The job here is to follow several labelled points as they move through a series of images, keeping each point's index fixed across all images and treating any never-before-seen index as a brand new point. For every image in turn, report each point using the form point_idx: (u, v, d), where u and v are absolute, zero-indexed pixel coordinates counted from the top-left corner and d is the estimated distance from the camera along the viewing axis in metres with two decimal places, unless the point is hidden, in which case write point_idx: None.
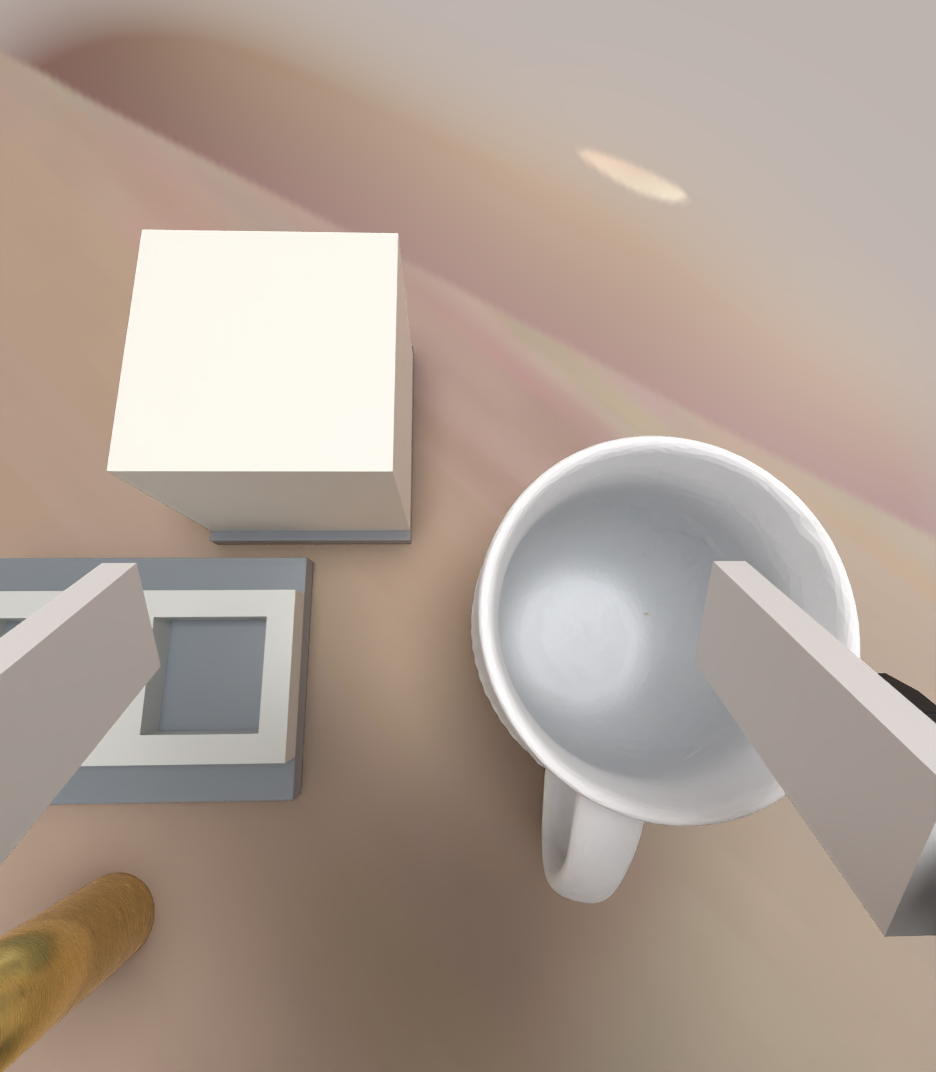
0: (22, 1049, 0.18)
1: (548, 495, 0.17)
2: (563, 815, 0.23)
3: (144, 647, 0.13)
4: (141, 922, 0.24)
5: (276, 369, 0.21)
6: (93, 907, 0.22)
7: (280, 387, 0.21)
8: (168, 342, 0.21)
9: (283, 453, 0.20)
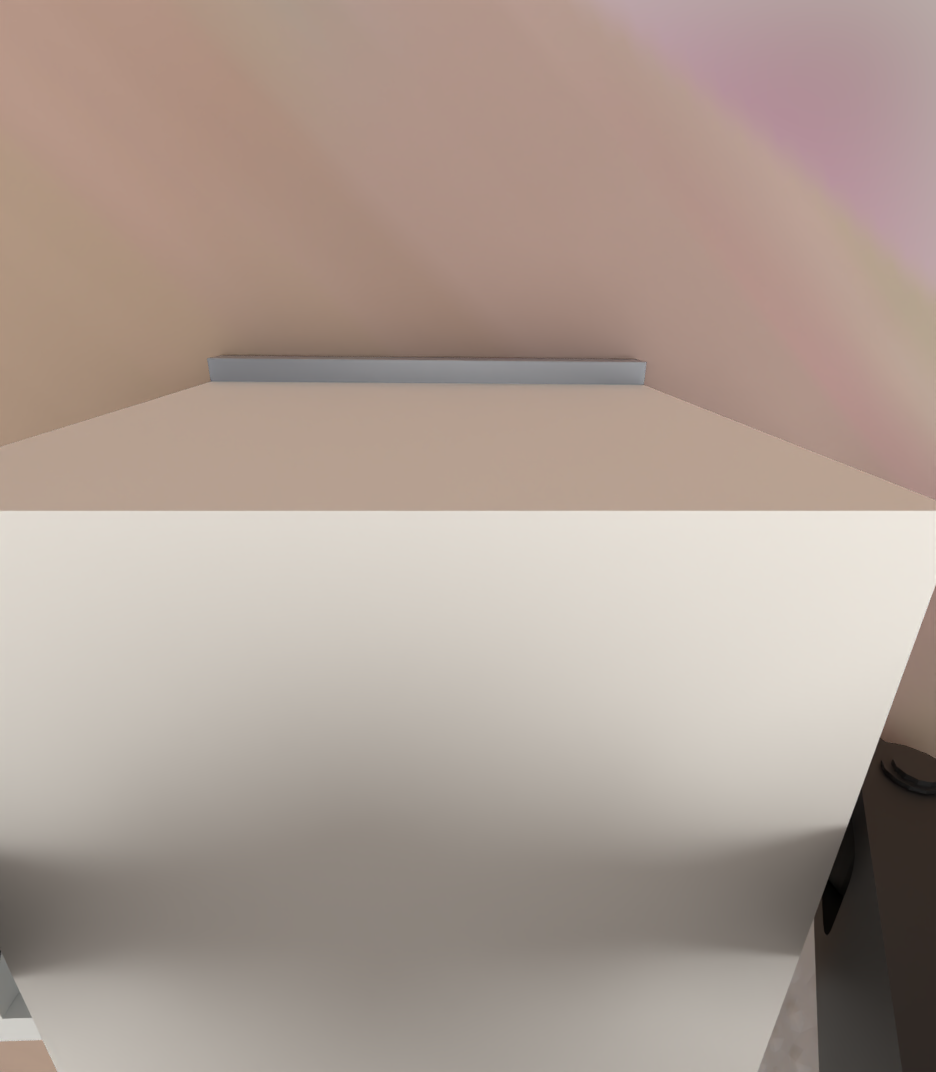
0: None
1: None
2: None
3: None
4: None
5: (465, 958, 0.07)
6: None
7: (480, 992, 0.07)
8: (119, 906, 0.07)
9: None
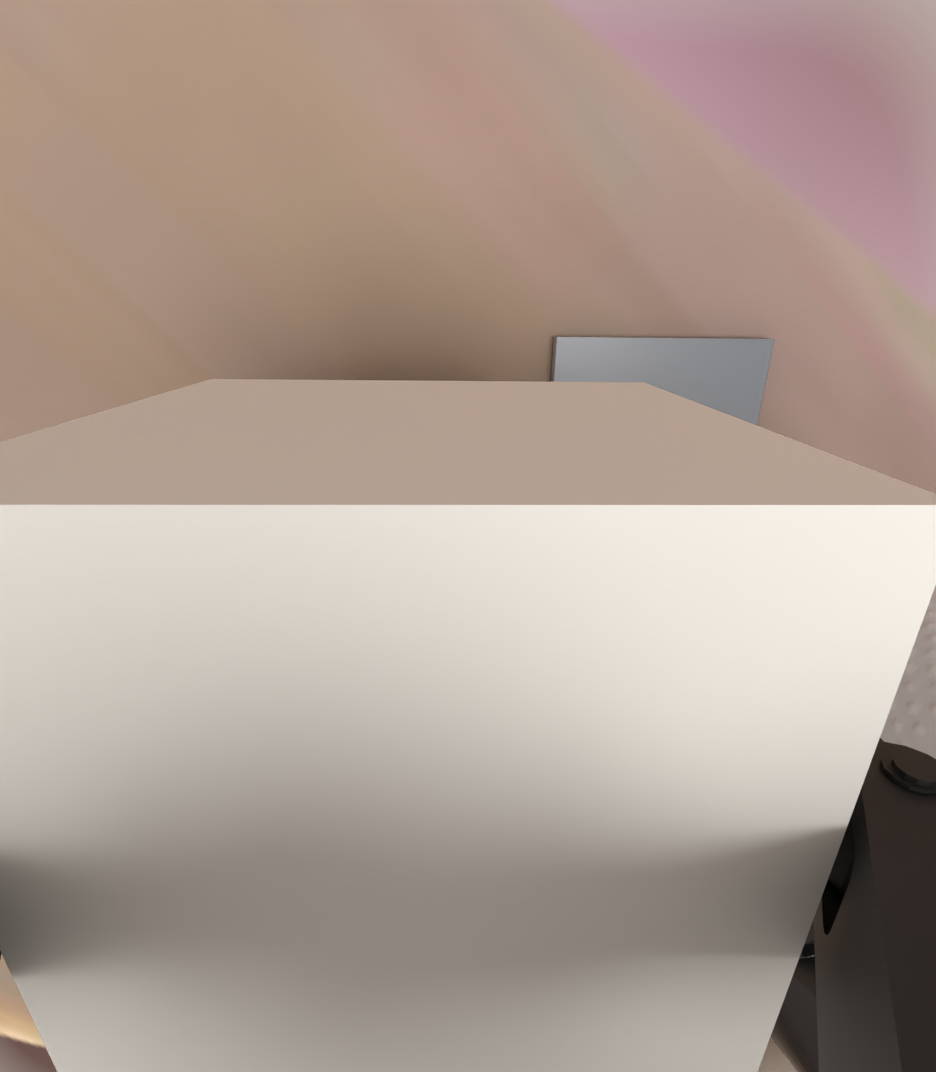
0: None
1: None
2: None
3: None
4: None
5: (465, 956, 0.07)
6: None
7: (480, 989, 0.07)
8: (118, 903, 0.07)
9: None
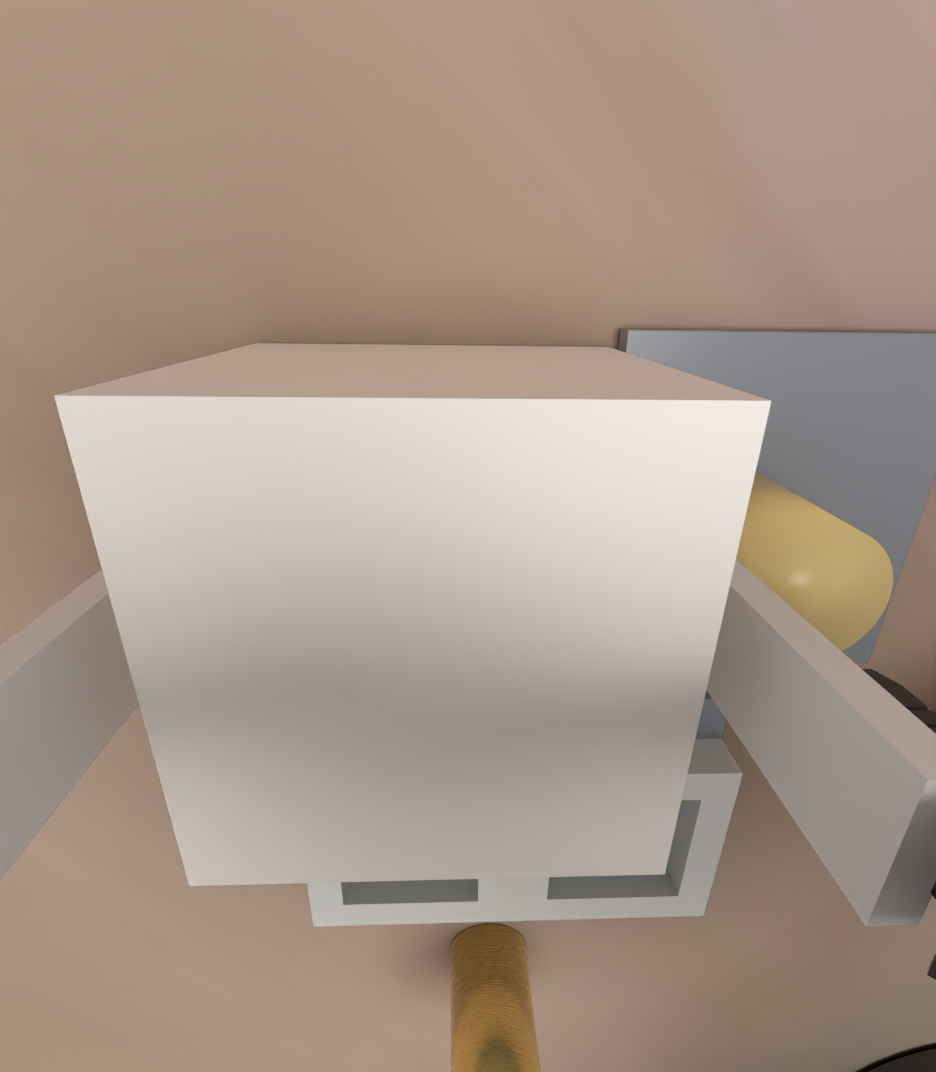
0: None
1: None
2: None
3: None
4: (527, 968, 0.26)
5: (462, 733, 0.10)
6: (515, 1006, 0.23)
7: (472, 762, 0.11)
8: (227, 686, 0.10)
9: (483, 856, 0.12)
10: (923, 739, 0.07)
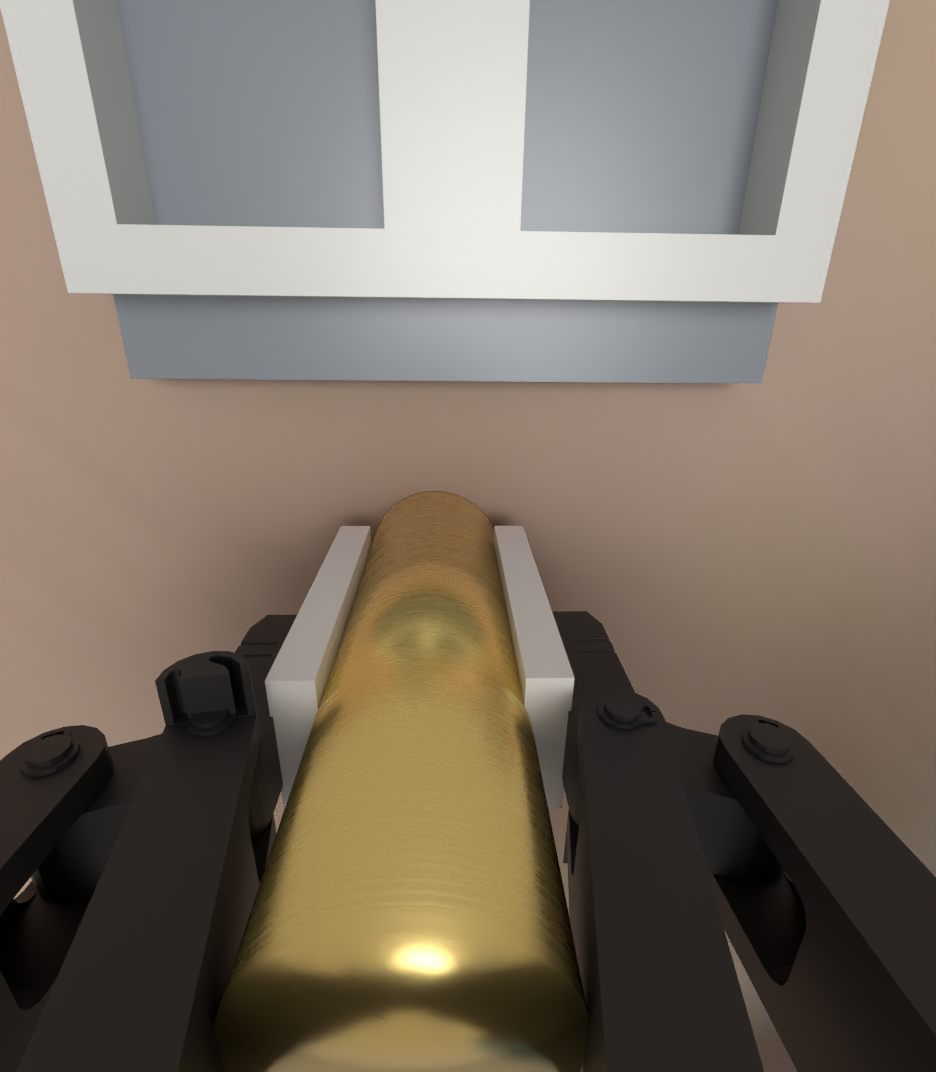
0: None
1: None
2: None
3: None
4: None
5: None
6: (471, 543, 0.13)
7: None
8: None
9: None
10: (550, 652, 0.09)
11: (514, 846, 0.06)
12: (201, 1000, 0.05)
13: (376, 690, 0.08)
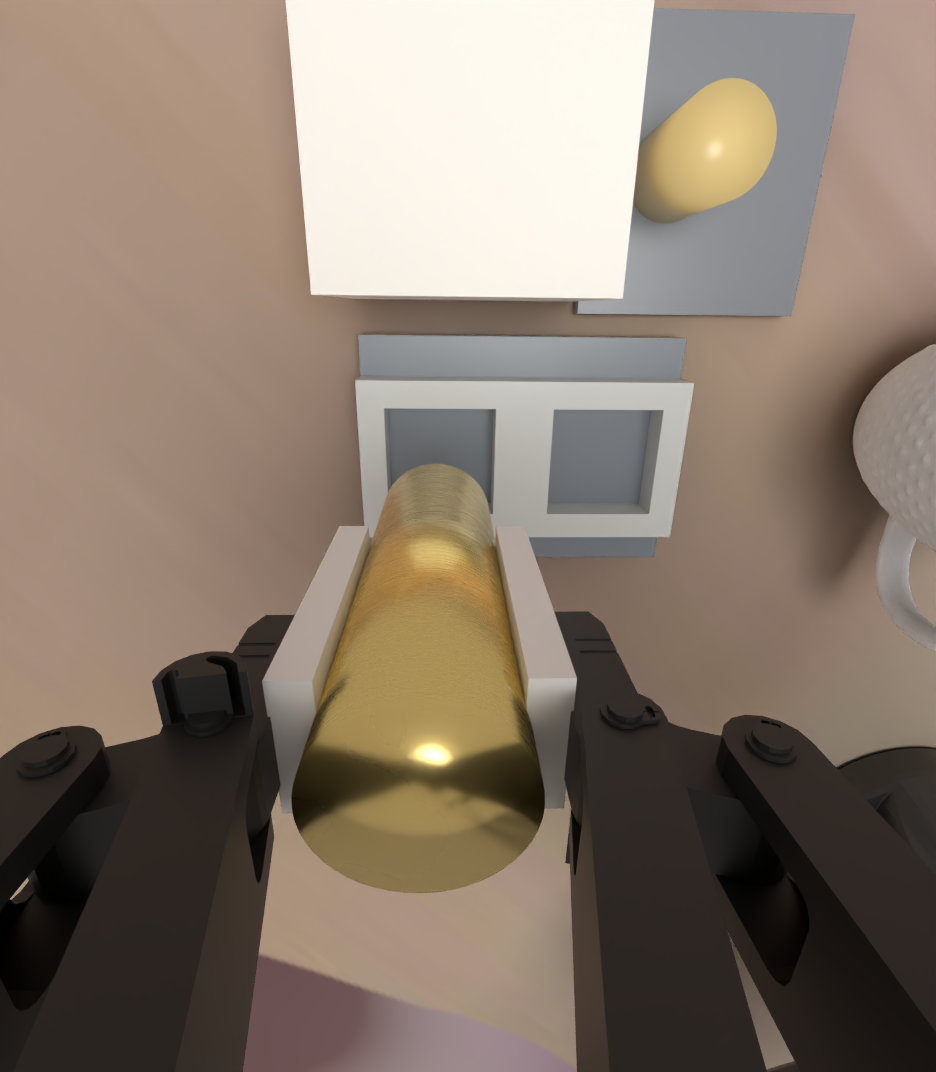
0: None
1: None
2: (899, 580, 0.28)
3: None
4: None
5: (491, 149, 0.16)
6: (466, 502, 0.16)
7: (497, 178, 0.17)
8: (349, 101, 0.16)
9: (503, 273, 0.18)
10: (552, 652, 0.09)
11: (495, 679, 0.08)
12: (197, 1002, 0.05)
13: (394, 592, 0.10)
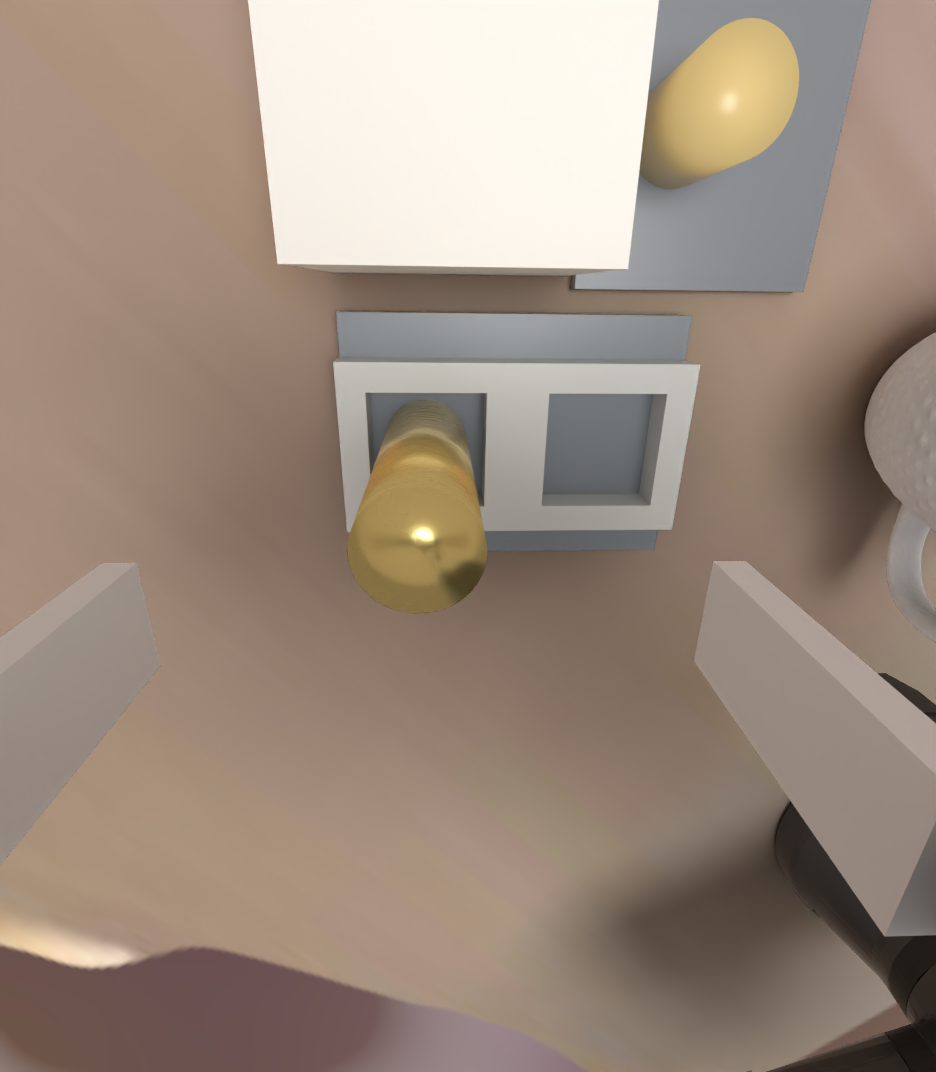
0: None
1: None
2: (910, 573, 0.27)
3: (144, 647, 0.13)
4: None
5: (480, 95, 0.14)
6: (447, 420, 0.22)
7: (487, 129, 0.15)
8: (316, 35, 0.14)
9: (494, 240, 0.16)
10: None
11: (460, 489, 0.15)
12: None
13: (401, 455, 0.17)
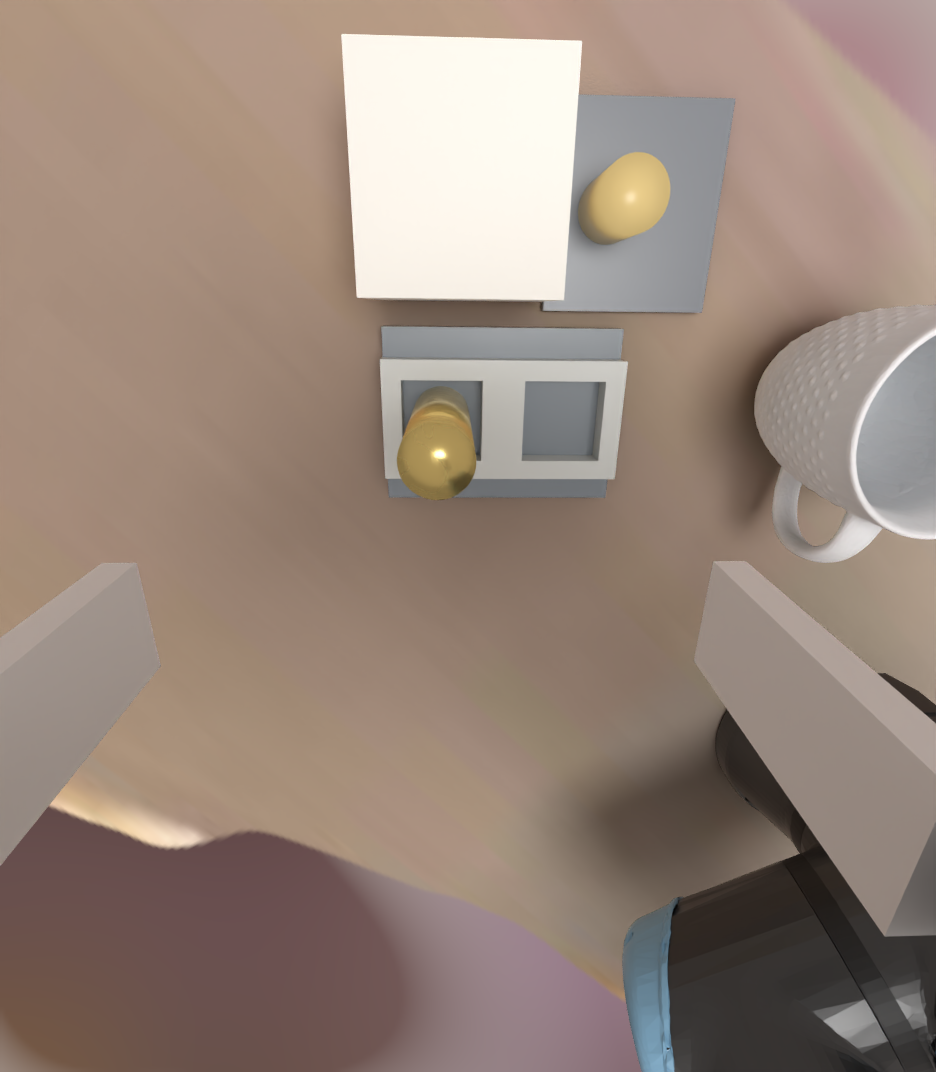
0: None
1: None
2: (788, 512, 0.37)
3: (144, 647, 0.13)
4: None
5: (475, 204, 0.26)
6: (455, 397, 0.33)
7: (479, 222, 0.26)
8: (384, 174, 0.25)
9: (484, 283, 0.27)
10: None
11: (461, 426, 0.26)
12: None
13: (426, 411, 0.28)
